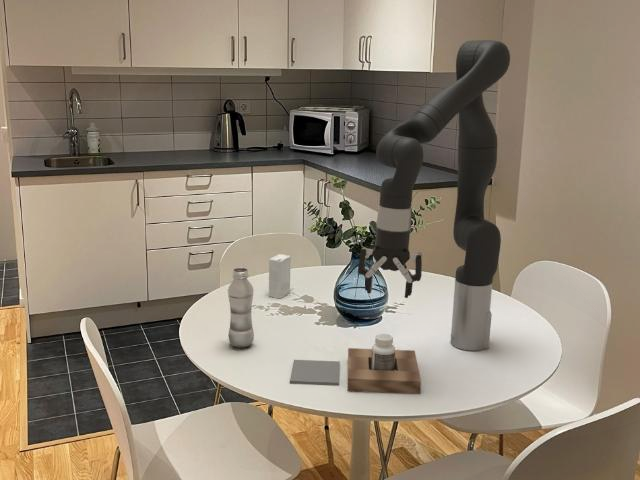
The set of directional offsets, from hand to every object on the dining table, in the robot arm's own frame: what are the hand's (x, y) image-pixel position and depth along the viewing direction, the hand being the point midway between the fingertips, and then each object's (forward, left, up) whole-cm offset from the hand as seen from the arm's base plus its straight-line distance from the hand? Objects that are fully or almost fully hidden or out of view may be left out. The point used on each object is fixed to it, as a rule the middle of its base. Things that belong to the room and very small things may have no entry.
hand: (387, 294), depth 162 cm
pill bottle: (+1, +3, -19) cm, 19 cm away
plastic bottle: (+36, -11, -19) cm, 42 cm away
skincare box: (+30, -48, -19) cm, 60 cm away
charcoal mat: (+16, +3, -19) cm, 25 cm away
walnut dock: (+1, +3, -19) cm, 19 cm away
